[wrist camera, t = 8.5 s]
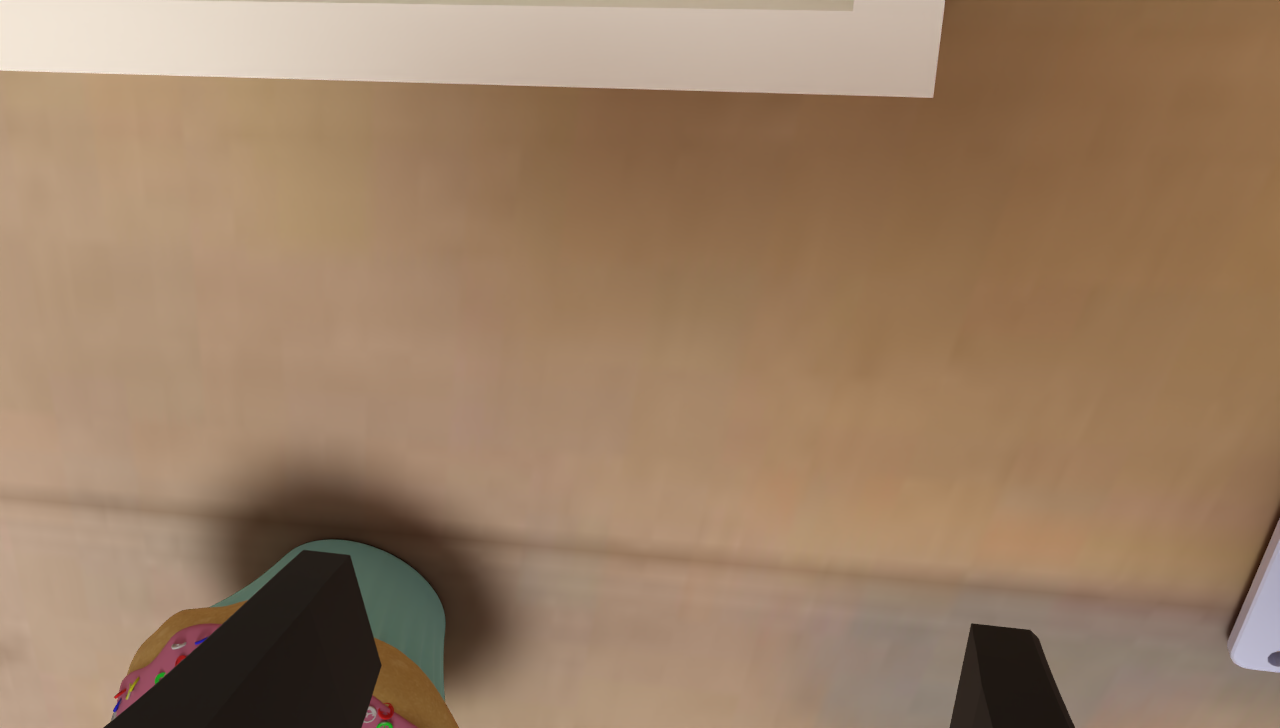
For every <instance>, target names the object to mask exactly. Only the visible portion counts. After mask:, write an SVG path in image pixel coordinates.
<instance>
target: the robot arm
mask: <svg viewBox="0 0 1280 728" xmlns="http://www.w3.org/2000/svg"><path fill="white" fill-rule="evenodd" d="M1227 647H1228V651H1229V654H1230V657H1231V659H1232V660H1233V662H1234V663H1235V664H1237V665H1238V666H1240V667H1243V668H1247V669H1253V670H1262V671H1271V672H1280V652H1277V651H1280V519H1279V521H1278V523H1277V526H1276V528H1275V530H1274V533H1273V535H1272V538H1271V540H1270V542H1269V545H1268V547H1267V549H1266V552H1265V554H1264V556H1263V559H1262V561H1261V564H1260V566H1259V568H1258V571H1257V573H1256V575H1255V578H1254V580H1253V582H1252V585H1251V587H1250V589H1249V592H1248V594H1247V597H1246V599H1245V601H1244V604H1243V606H1242V608H1241V611H1240V613H1239V615H1238V618H1237V620H1236V623H1235V625H1234V627H1233V630H1232V632H1231V634H1230V637H1229V639H1228V644H1227ZM381 666H382V665H381V661H380V658H379V654H378V651H377V647H376V644H375V640H374V637H373V633H372V630H371V626H370V623H369V619H368V616H367V612H366V609H365V605H364V602H363V598H362V595H361V591H360V588H359V584H358V580H357V577H356V573H355V570H354V566H353V563H352V559H351V556H350V555H346V554H337V553H328V552H319V551H310V550H303V551H301V552H300V553H299V554H298V555H297V556H296V557H295V558H293V559H292V560H291V561H290V562H289V563H288V564H287V565H286V566H285V567H283V568H282V569H281V570H280V571H279V572H278V573H277V574H276V575H275V576H274V577H272V578H271V579H270V580H269V581H268V582H267V583H266V584H265V585H264V586H263V587H262V588H261V589H260V590H258V591H257V592H256V593H255V594H254V595H253V596H252V597H251V598H250V599H249V600H248V601H247V602H246V603H244V604H243V605H242V606H241V607H240V608H239V609H238V610H237V611H236V612H235V613H234V614H233V615H232V616H230V617H229V618H228V619H227V620H226V621H225V622H224V623H223V624H222V625H221V626H220V627H219V628H217V629H216V630H215V631H214V632H213V633H212V634H211V635H210V636H209V637H208V638H207V639H205V640H204V641H203V642H202V643H201V644H200V645H199V646H198V647H197V648H195V649H194V650H193V651H192V652H191V653H190V654H189V655H188V656H186V657H185V658H184V659H183V660H182V661H181V662H180V663H179V664H177V665H176V666H175V667H174V668H173V669H172V670H171V671H170V672H169V673H167V674H166V675H165V676H164V677H163V678H162V679H161V680H160V681H158V682H157V683H156V684H155V685H154V686H153V687H152V688H150V689H149V690H148V691H147V692H146V693H145V694H143V695H142V696H141V697H140V698H139V699H138V700H136V701H135V702H134V703H133V704H132V705H130V706H129V707H128V708H127V709H126V710H124V711H123V712H122V713H121V714H119V715H118V716H117V717H116V718H115V719H113V720H112V721H111V722H110V723H109V724H107V725H106V726H105V727H104V728H362V725H363V722H364V719H365V716H366V713H367V710H368V707H369V704H370V701H371V698H372V695H373V691H374V688H375V685H376V682H377V679H378V675H379V672H380V669H381ZM950 728H1075V726H1074V724H1073V722H1072V720H1071V718H1070V716H1069V713H1068V711H1067V709H1066V706H1065V704H1064V702H1063V700H1062V697H1061V695H1060V693H1059V690H1058V688H1057V685H1056V683H1055V680H1054V678H1053V675H1052V673H1051V670H1050V668H1049V665H1048V663H1047V660H1046V658H1045V655H1044V652H1043V649H1042V647H1041V644H1040V641H1039V638H1038V637H1037V636H1036V635H1035V634H1034V633H1033V632H1032V631H1031V630H1025V629H1016V628H1007V627H998V626H989V625H980V624H971V628H970V632H969V637H968V642H967V647H966V652H965V656H964V661H963V666H962V671H961V676H960V681H959V685H958V690H957V695H956V700H955V705H954V709H953V714H952V719H951V724H950Z"/></svg>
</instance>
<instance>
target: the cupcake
mask: <svg viewBox="0 0 1280 728" xmlns="http://www.w3.org/2000/svg"><path fill="white" fill-rule="evenodd" d="M303 550H310V551H319V552H328V553H337V554H346V555H350V556H351V559H352V563H353V566H354V570H355V573H356V577H357V580H358V584H359V588H360V591H361V595H362V598H363V602H364V605H365V609H366V612H367V616H368V619H369V623H370V626H371V630H372V633H373V637H374V640H375V644H376V647H377V651H378V654H379V658H380V661H381V665H382V666H381V669H380V672H379V675H378V679H377V682H376V685H375V688H374V691H373V695H372V698H371V701H370V704H369V707H368V710H367V713H366V716H365V719H364V722H363V725H362V728H459V727H458V725H457V723H456V721H455V719H454V718H453V716H452V714H451V712H450V711H449V709H448V707H447V705H446V703H445V694H444V672H443V656H444V637H445V626H446V621H445V614H444V610H443V606H442V604H441V602H440V599H439V598H438V596H437V594H436V593H435V591H434V590H433V588H432V587H431V586H430V584H429V583H428V582H427V581H426V580H425V579H424V578H423V577H422V576H421V575H420V574H419V573H418V572H417V571H416V570H414V569H413V568H412V567H411V566H409V565H408V564H406V563H405V562H403V561H402V560H400V559H399V558H397V557H395V556H393V555H391V554H389V553H387V552H385V551H383V550H380V549H378V548H375V547H373V546H369V545H366V544H363V543H358V542H354V541H347V540H333V539H331V540H318V541H313V542H309V543H306V544H303V545H301V546H298V547H296V548H295V549H293V550H292V551H290V552H289V553H287V554H286V555H285V556H284V557H283V558H282V559H281V560H280V561H278V562H277V563H276V564H275V565H274V566H273V567H271V568H270V569H269V570H268V571H267V572H266V573H264V574H263V575H262V576H260V577H259V578H258V579H256V580H255V581H254V582H252V583H251V584H249V585H248V586H246V587H245V588H243V589H242V590H240V591H238V592H237V593H235V594H233V595H232V596H230V597H228V598H226V599H224V600H223V601H221V602H219V603H217V604H215V605H213V606H211V607H209V608H199V609H188V610H183V611H180V612H178V613H176V614H174V615H173V616H172V617H170V618H169V619H168V620H167V621H166V622H165V623H164V624H163V625H162V626H161V627H160V628H159V629H158V630H157V631H156V632H155V633H154V634H153V635H151V636H150V637H149V638H148V639H147V640H146V641H145V642H144V643H143V644H142V645H141V647H140V648H139V649H138V651H137V653H136V654H135V656H134V658H133V660H132V662H131V665H130V667H129V670H128V674H127V676H126V677H125V678H124V680H123V681H122V683H121V686H120V690H119V693H118V694H117V695H116V696H115V697H114V698H118V700H117V705H116V706H115V708H114V710H113V712H114V713H113V715H112V718H111V721H112V720H113V719H115V718H116V717H117V716H118V715H119V714H121V713H122V712H123V711H124V710H126V709H127V708H128V707H129V706H130V705H132V704H133V703H134V702H135V701H136V700H138V699H139V698H140V697H141V696H142V695H143V694H145V693H146V692H147V691H148V690H149V689H150V688H152V687H153V686H154V685H155V684H156V683H157V682H158V681H160V680H161V679H162V678H163V677H164V676H165V675H166V674H167V673H169V672H170V671H171V670H172V669H173V668H174V667H175V666H176V665H177V664H179V663H180V662H181V661H182V660H183V659H184V658H185V657H186V656H188V655H189V654H190V653H191V652H192V651H193V650H194V649H195V648H197V647H198V646H199V645H200V644H201V643H202V642H203V641H204V640H205V639H207V638H208V637H209V636H210V635H211V634H212V633H213V632H214V631H215V630H216V629H217V628H219V627H220V626H221V625H222V624H223V623H224V622H225V621H226V620H227V619H228V618H229V617H230V616H232V615H233V614H234V613H235V612H236V611H237V610H238V609H239V608H240V607H241V606H242V605H243V604H244V603H246V602H247V601H248V600H249V599H250V598H251V597H252V596H253V595H254V594H255V593H256V592H257V591H258V590H260V589H261V588H262V587H263V586H264V585H265V584H266V583H267V582H268V581H269V580H270V579H271V578H272V577H274V576H275V575H276V574H277V573H278V572H279V571H280V570H281V569H282V568H283V567H285V566H286V565H287V564H288V563H289V562H290V561H291V560H292V559H293V558H295V557H296V556H297V555H298V554H299V553H300V552H301V551H303Z"/></svg>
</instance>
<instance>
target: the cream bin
mask: <svg viewBox="0 0 1280 728" xmlns="http://www.w3.org/2000/svg"><path fill="white" fill-rule="evenodd" d="M944 5H945V0H0V70H4V71H38V72H72V73H106V74H140V75H174V76H208V77H242V78H277V79H311V80H345V81H379V82H413V83H447V84H481V85H515V86H549V87H583V88H618V89H652V90H686V91H720V92H754V93H788V94H822V95H856V96H890V97H924V98H933V95H934V86H935V78H936V70H937V62H938V54H939V46H940V38H941V30H942V22H943V13H944Z"/></svg>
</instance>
